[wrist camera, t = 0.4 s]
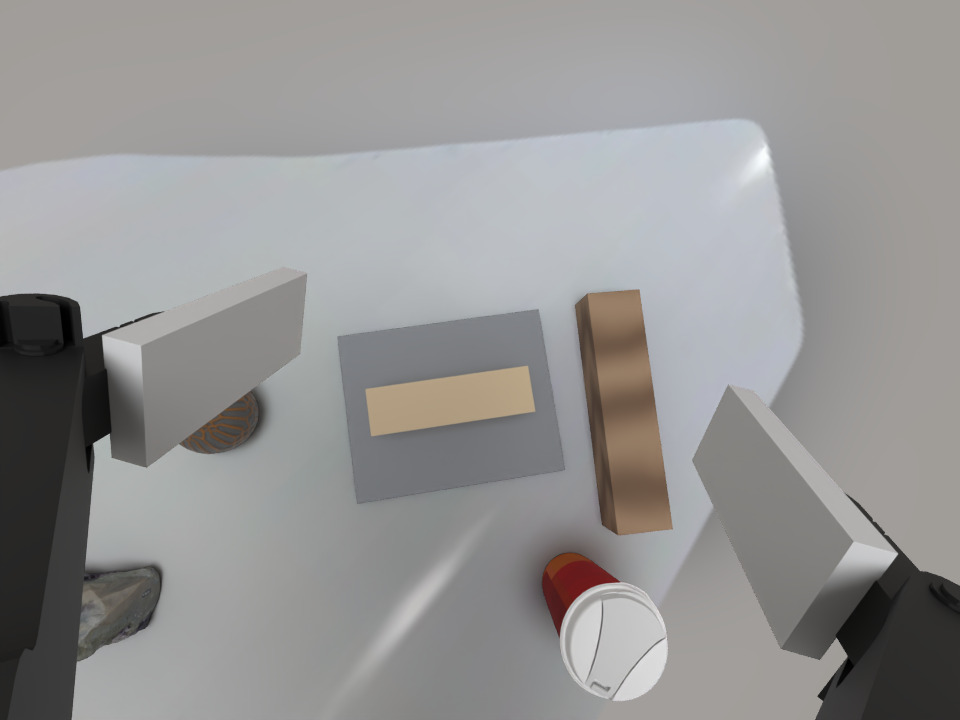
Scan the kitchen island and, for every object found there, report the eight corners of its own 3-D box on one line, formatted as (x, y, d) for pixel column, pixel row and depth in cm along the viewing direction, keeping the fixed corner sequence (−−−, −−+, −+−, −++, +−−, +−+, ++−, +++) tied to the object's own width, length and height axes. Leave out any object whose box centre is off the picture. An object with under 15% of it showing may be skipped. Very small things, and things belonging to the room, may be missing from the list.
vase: (262, 454, 47) (220, 461, 39) (188, 447, 47) (129, 453, 38) (273, 382, 48) (234, 374, 39) (201, 375, 48) (146, 365, 39)
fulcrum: (562, 468, 49) (581, 476, 42) (359, 501, 47) (343, 515, 40) (536, 311, 51) (550, 294, 44) (339, 338, 49) (321, 324, 42)
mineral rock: (-10, 597, 44) (-142, 647, 34) (75, 498, 46) (-29, 519, 36) (102, 685, 44) (1, 762, 34) (184, 582, 46) (109, 628, 36)
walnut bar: (650, 518, 49) (672, 529, 44) (601, 523, 49) (618, 535, 44) (621, 302, 52) (639, 289, 47) (574, 306, 51) (587, 293, 46)
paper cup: (586, 639, 47) (643, 731, 33) (516, 599, 47) (544, 673, 33) (623, 564, 48) (694, 622, 34) (555, 524, 48) (597, 566, 34)
